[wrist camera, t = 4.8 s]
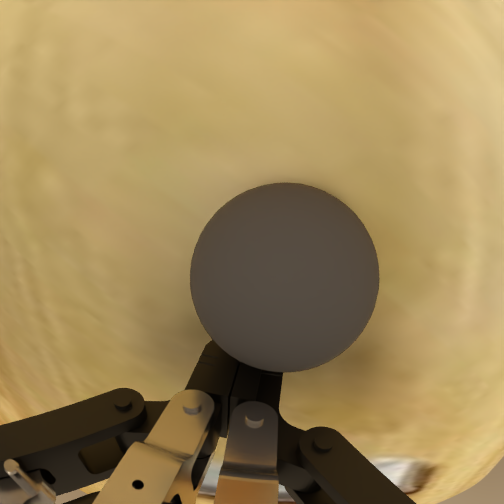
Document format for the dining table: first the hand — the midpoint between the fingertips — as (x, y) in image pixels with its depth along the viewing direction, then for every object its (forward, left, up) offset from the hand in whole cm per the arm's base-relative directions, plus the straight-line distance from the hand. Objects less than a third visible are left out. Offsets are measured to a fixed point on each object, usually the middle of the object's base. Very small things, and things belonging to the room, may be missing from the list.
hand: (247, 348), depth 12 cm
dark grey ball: (+4, 0, +1) cm, 4 cm away
